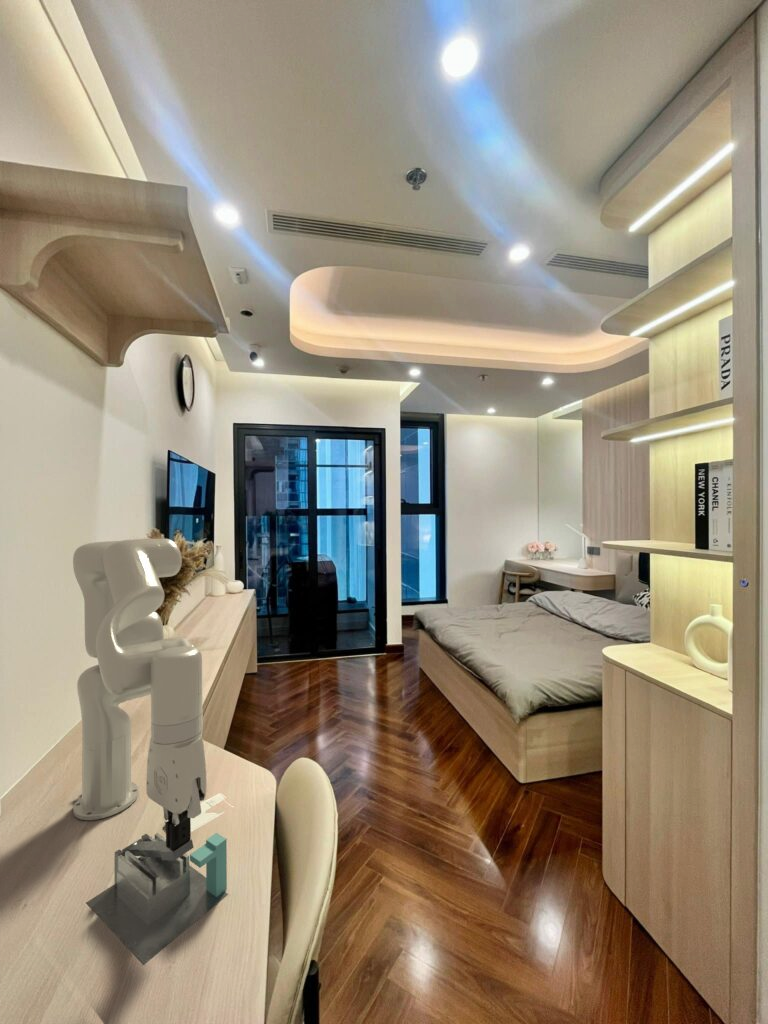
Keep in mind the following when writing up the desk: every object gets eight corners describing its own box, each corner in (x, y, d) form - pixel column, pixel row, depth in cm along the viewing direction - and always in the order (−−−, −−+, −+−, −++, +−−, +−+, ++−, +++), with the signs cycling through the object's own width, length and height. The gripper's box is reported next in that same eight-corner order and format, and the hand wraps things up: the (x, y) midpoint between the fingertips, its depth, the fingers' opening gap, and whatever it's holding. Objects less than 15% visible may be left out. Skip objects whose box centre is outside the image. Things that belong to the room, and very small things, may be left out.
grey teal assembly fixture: (86, 908, 72) (86, 863, 72) (168, 854, 84) (168, 815, 84) (143, 971, 62) (143, 918, 62) (228, 900, 73) (228, 855, 74)
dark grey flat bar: (122, 858, 76) (120, 849, 77) (140, 846, 79) (139, 838, 79) (174, 861, 67) (172, 851, 68) (193, 848, 70) (191, 838, 70)
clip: (190, 902, 72) (189, 850, 72) (216, 881, 76) (216, 832, 76) (200, 910, 70) (199, 857, 71) (226, 889, 75) (226, 839, 75)
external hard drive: (164, 828, 92) (219, 798, 102) (182, 846, 87) (239, 813, 96) (164, 820, 92) (219, 791, 102) (182, 837, 87) (238, 805, 96)
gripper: (129, 725, 71) (130, 840, 71) (181, 749, 63) (183, 880, 62) (173, 708, 77) (174, 814, 77) (226, 729, 69) (228, 847, 68)
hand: (178, 843), depth 70 cm, fingers closed
